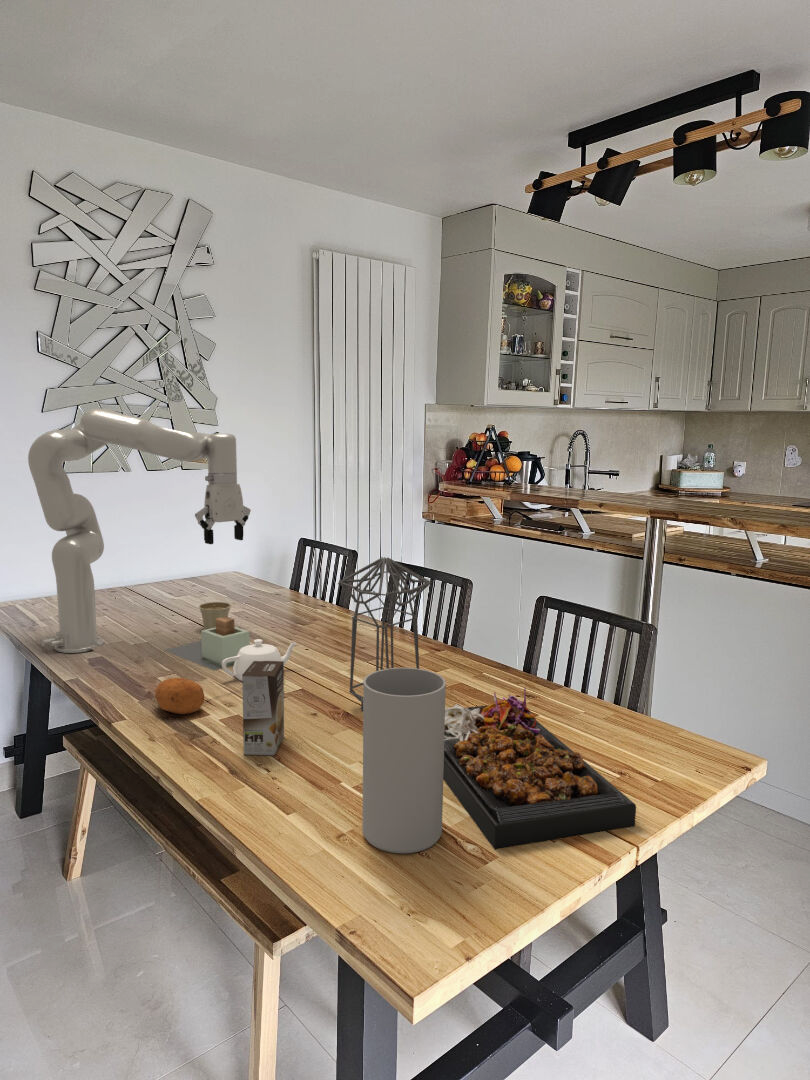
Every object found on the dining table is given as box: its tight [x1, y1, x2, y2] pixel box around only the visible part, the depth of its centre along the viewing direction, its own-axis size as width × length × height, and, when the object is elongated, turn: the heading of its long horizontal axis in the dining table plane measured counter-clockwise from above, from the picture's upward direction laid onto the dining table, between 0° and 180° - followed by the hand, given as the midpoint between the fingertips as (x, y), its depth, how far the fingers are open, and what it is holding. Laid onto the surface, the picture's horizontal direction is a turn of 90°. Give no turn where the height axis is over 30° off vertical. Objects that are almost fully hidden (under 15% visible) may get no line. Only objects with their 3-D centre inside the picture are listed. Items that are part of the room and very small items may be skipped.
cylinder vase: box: [361, 667, 447, 855], centre depth 114 cm, size 12×12×25 cm
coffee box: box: [241, 661, 285, 756], centre depth 146 cm, size 9×6×16 cm
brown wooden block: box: [216, 616, 236, 636], centre depth 194 cm, size 3×4×10 cm
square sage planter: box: [200, 626, 251, 668], centre depth 194 cm, size 8×9×8 cm
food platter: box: [443, 687, 637, 851], centre depth 136 cm, size 45×25×10 cm, turn 17°
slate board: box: [163, 640, 233, 672], centre depth 200 cm, size 14×24×1 cm, turn 49°
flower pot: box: [198, 601, 232, 630], centre depth 221 cm, size 9×9×9 cm
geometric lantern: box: [337, 556, 431, 711], centre depth 163 cm, size 16×16×35 cm
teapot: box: [222, 638, 297, 682], centre depth 183 cm, size 20×12×10 cm, turn 125°
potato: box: [154, 677, 205, 715], centre depth 163 cm, size 9×11×8 cm
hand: (224, 541), depth 203 cm, fingers open, 9 cm apart
